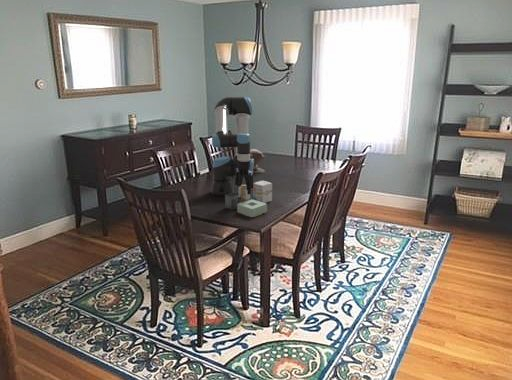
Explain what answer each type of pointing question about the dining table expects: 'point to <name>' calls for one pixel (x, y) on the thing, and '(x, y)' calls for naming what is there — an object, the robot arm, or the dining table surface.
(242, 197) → the birch dowel
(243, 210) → the socket block
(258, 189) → the ink box
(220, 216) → the dining table surface
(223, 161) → the robot arm
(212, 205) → the dining table surface
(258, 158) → the cherub figurine
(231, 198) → the dark grey block
